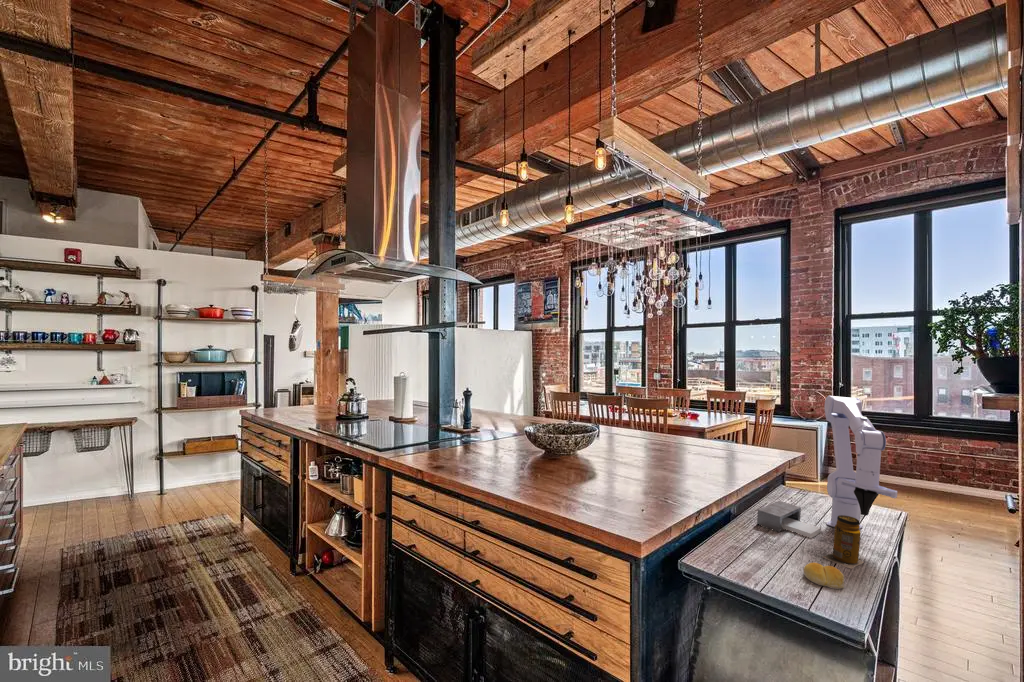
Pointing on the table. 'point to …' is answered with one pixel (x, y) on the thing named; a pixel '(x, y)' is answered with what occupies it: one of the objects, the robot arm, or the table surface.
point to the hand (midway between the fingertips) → (864, 514)
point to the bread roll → (824, 575)
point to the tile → (800, 527)
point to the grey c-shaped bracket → (777, 514)
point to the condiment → (846, 542)
